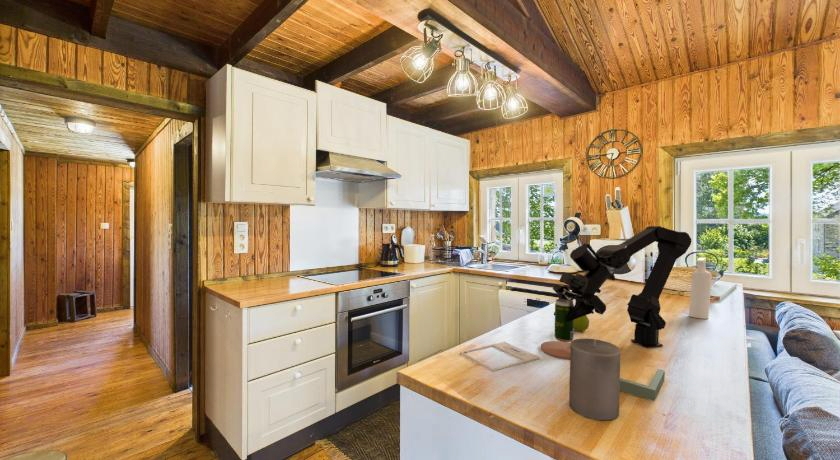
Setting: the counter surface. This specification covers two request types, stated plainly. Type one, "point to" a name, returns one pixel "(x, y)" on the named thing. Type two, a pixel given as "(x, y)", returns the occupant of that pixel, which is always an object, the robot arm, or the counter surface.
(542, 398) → the counter surface
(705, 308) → the beige bottle
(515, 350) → the photo frame
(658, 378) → the green u-shaped bracket
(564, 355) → the saucer
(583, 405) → the pillar candle
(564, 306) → the beer can
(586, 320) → the fruit
